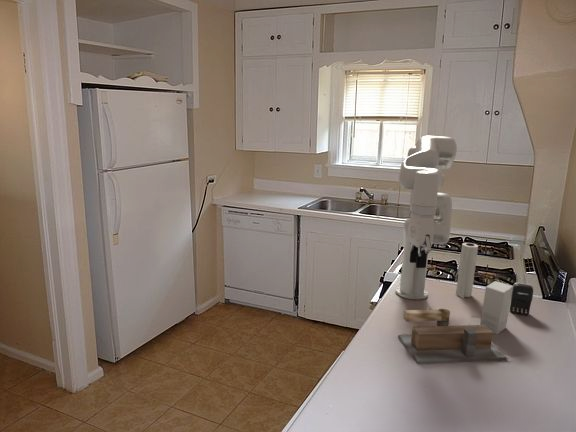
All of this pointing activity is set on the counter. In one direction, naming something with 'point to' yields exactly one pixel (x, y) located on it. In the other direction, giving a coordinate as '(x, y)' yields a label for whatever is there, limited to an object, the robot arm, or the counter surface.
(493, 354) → the wooden gate latch
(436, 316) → the bar
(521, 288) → the battery charger
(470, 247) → the paper towel roll
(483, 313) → the skincare box
